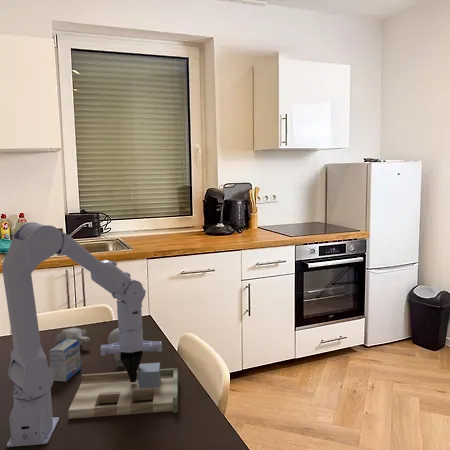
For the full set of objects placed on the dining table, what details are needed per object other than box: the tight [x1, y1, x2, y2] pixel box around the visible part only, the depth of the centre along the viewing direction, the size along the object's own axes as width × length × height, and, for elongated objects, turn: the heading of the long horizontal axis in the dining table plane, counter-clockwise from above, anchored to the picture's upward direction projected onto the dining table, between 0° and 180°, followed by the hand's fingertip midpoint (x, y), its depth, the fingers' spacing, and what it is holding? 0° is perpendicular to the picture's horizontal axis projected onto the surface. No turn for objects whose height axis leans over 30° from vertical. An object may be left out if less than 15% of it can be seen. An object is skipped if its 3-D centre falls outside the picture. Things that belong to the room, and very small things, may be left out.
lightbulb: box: [107, 328, 125, 368], centre depth 127 cm, size 6×6×11 cm
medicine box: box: [48, 339, 82, 383], centre depth 123 cm, size 8×4×9 cm, turn 168°
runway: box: [68, 367, 179, 420], centre depth 109 cm, size 16×24×4 cm, turn 95°
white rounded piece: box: [55, 327, 91, 346], centre depth 145 cm, size 10×5×15 cm
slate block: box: [137, 362, 161, 388], centre depth 113 cm, size 5×5×4 cm
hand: (133, 380), depth 113 cm, fingers closed
